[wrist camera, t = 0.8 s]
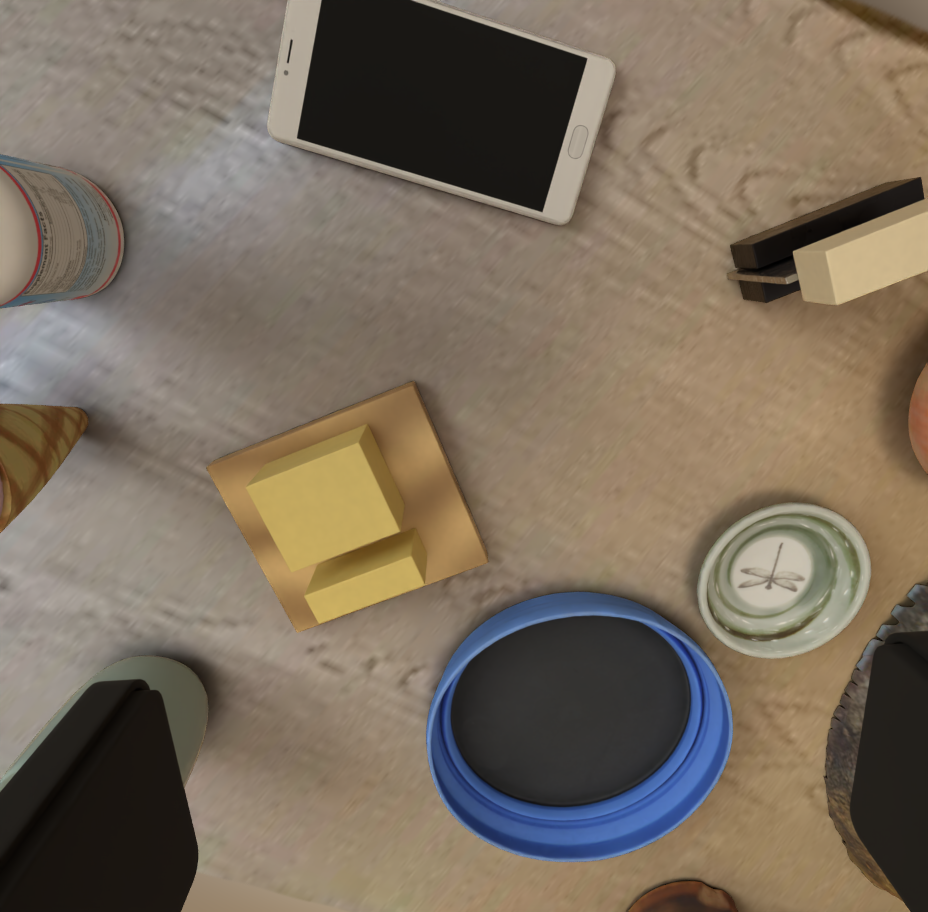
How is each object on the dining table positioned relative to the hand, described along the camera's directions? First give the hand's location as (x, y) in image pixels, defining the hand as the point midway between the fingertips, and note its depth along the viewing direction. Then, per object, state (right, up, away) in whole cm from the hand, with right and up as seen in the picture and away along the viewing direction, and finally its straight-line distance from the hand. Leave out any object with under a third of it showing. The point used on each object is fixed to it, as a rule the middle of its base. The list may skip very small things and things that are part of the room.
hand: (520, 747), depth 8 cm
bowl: (+6, -12, +32) cm, 35 cm away
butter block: (-8, +2, +26) cm, 27 cm away
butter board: (-7, +1, +28) cm, 29 cm away
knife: (+17, +15, +24) cm, 33 cm away
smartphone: (-2, +20, +22) cm, 30 cm away
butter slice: (-6, -2, +27) cm, 28 cm away
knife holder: (+17, +15, +24) cm, 33 cm away
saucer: (+17, -3, +30) cm, 34 cm away
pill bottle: (-20, +15, +23) cm, 34 cm away
